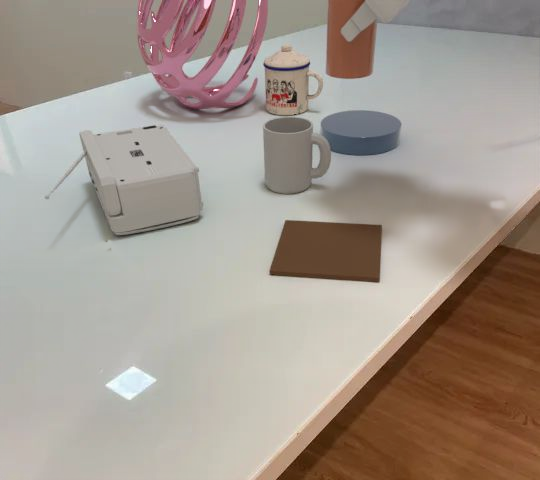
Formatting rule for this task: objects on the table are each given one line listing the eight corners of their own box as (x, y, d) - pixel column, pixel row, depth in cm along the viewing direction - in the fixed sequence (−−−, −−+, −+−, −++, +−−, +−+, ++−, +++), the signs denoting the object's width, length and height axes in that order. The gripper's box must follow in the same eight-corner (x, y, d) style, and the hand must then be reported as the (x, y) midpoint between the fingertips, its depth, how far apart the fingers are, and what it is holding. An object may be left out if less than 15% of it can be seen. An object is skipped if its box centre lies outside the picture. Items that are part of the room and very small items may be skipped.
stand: (399, 127, 103) (401, 110, 101) (399, 156, 93) (401, 138, 91) (323, 125, 105) (324, 109, 103) (316, 153, 95) (316, 136, 93)
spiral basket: (266, -25, 121) (162, -112, 101) (330, 33, 106) (224, -55, 87) (199, 91, 134) (96, 34, 114) (248, 156, 120) (140, 103, 100)
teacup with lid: (257, 113, 112) (254, 48, 104) (275, 100, 118) (273, 38, 110) (314, 120, 108) (315, 53, 100) (329, 105, 114) (331, 41, 107)
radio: (170, 167, 92) (46, 190, 87) (162, 115, 87) (29, 136, 82) (208, 220, 78) (61, 252, 72) (201, 162, 72) (42, 192, 67)
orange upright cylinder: (373, 66, 73) (380, -16, 67) (371, 79, 69) (379, -8, 63) (328, 66, 74) (330, -15, 68) (323, 78, 70) (325, -7, 64)
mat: (381, 228, 74) (382, 224, 74) (379, 282, 65) (379, 277, 64) (285, 223, 76) (285, 219, 76) (269, 274, 67) (269, 270, 66)
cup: (270, 173, 89) (268, 115, 83) (332, 177, 87) (335, 118, 82) (260, 192, 84) (257, 132, 78) (326, 197, 82) (328, 136, 76)
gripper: (468, -37, 54) (359, 72, 62) (454, -57, 69) (367, 32, 77) (428, -95, 52) (320, 26, 59) (422, -103, 67) (336, -6, 75)
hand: (346, 29), depth 68 cm, fingers closed on orange upright cylinder, 6 cm apart
